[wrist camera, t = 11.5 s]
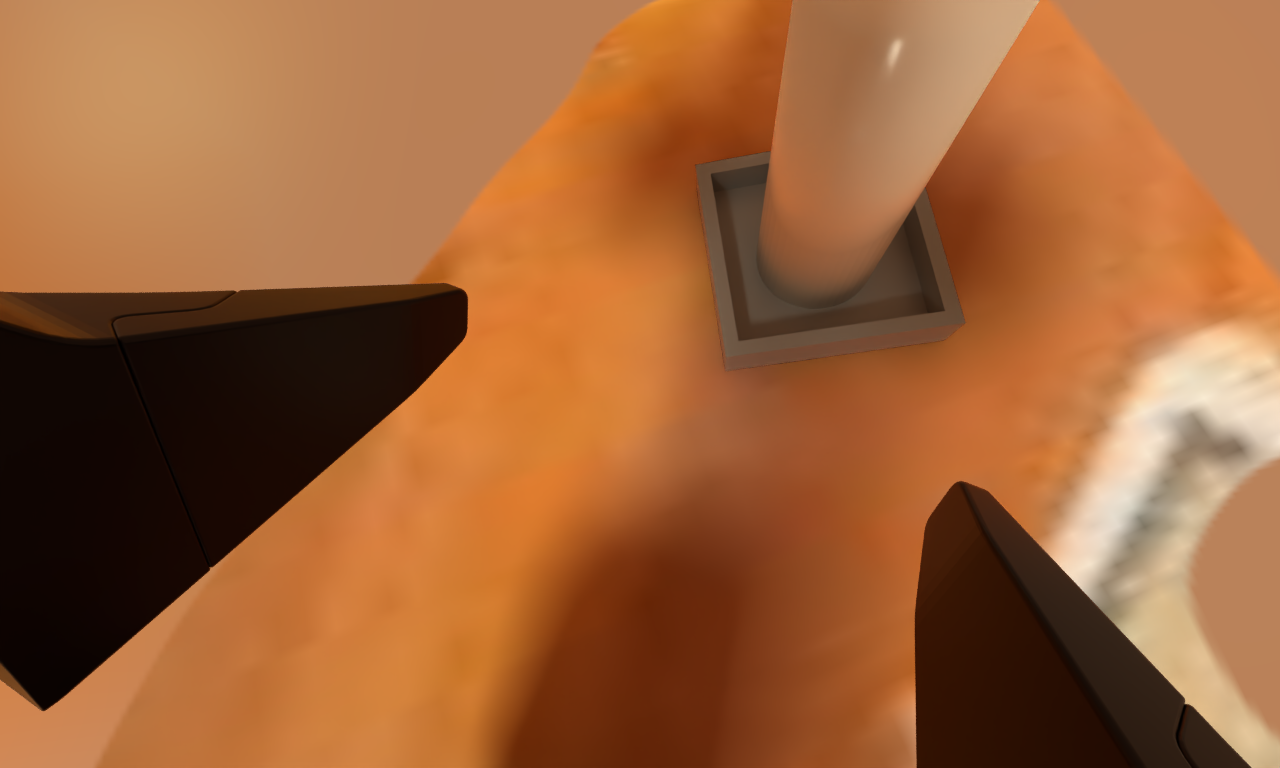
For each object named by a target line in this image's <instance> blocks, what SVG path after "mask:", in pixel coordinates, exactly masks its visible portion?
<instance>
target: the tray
mask: <svg viewBox="0 0 1280 768" xmlns="http://www.w3.org/2000/svg"><path fill="white" fill-rule="evenodd" d="M770 155H771V151H768V152H763V153H757V154H752V155H746V156H741V157H736V158H730V159H725V160H719V161H714V162H708V163H703V164H697V165H695V167H696V184H697V195H698V201H699V208H700V214H701V221H702V227H703V233H704V240H705V246H706V252H707V259H708V265H709V271H710V278H711V284H712V291H713V297H714V303H715V310H716V316H717V322H718V329H719V335H720V342H721V348H722V354H723V361H724V367H725V371H730V370H737V369H744V368H751V367H758V366H765V365H773V364H780V363H787V362H794V361H801V360H808V359H815V358H822V357H829V356H836V355H843V354H851V353H858V352H865V351H872V350H879V349H886V348H893V347H900V346H907V345H914V344H921V343H929V342H936V341H943V340H945V339H946V338H948V337H949V336H950V335H951V334H952V333H954V332H955V331H956V330H957V329H959V328H960V327H961V326H962V325H964V324H965V319H964V316H963V313H962V309H961V306H960V302H959V299H958V296H957V292H956V289H955V285H954V282H953V279H952V275H951V272H950V269H949V265H948V262H947V258H946V255H945V252H944V248H943V245H942V241H941V238H940V235H939V231H938V228H937V224H936V221H935V218H934V214H933V211H932V208H931V204H930V201H929V197H928V194H927V191H926V187H925V188H924V190H923V191H922V193H921V194H920V196H919V198H918V199H917V201H916V203H915V204H914V206H913V208H912V209H911V211H910V212H909V214H908V216H907V217H906V219H905V221H904V222H903V224H902V225H901V227H900V229H899V230H898V232H897V234H896V235H895V237H894V238H893V240H892V242H891V243H890V245H889V247H888V248H887V250H886V251H885V253H884V255H883V256H882V258H881V260H880V261H879V263H878V264H877V266H876V268H875V269H874V271H873V273H872V274H871V276H870V277H869V279H868V281H867V282H866V284H865V285H864V287H863V288H862V289H861V290H860V291H859V292H858V293H857V294H856V295H855V296H853V297H852V298H851V299H849V300H847V301H846V302H843V303H841V304H839V305H836V306H833V307H829V308H822V309H808V308H802V307H798V306H794V305H791V304H789V303H787V302H785V301H783V300H781V299H780V298H778V297H777V296H776V295H774V294H773V293H772V292H771V291H770V290H769V289H768V288H767V286H766V285H765V284H764V282H763V280H762V279H761V277H760V274H759V271H758V268H757V262H756V253H757V245H758V238H759V231H760V224H761V217H762V210H763V203H764V196H765V189H766V182H767V175H768V168H769V161H770Z"/></svg>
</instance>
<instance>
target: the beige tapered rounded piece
mask: <svg viewBox="0 0 1280 768" xmlns="http://www.w3.org/2000/svg"><path fill="white" fill-rule="evenodd" d="M1039 1H1040V0H793V1H792V8H791V15H790V22H789V29H788V36H787V43H786V50H785V57H784V64H783V71H782V78H781V85H780V92H779V99H778V106H777V113H776V120H775V127H774V134H773V141H772V148H771V155H770V161H769V168H768V175H767V182H766V189H765V196H764V203H763V210H762V217H761V224H760V231H759V238H758V245H757V253H756V262H757V268H758V271H759V274H760V277H761V279H762V280H763V282H764V284H765V285H766V286H767V288H768V289H769V290H770V291H771V292H772V293H773V294H774V295H776V296H777V297H778V298H780V299H781V300H783V301H785V302H787V303H789V304H791V305H794V306H798V307H802V308H808V309H822V308H829V307H833V306H836V305H839V304H841V303H843V302H846V301H847V300H849V299H851V298H852V297H853V296H855V295H856V294H857V293H858V292H859V291H860V290H861V289H862V288H863V287H864V285H865V284H866V282H867V281H868V279H869V277H870V276H871V274H872V273H873V271H874V269H875V268H876V266H877V264H878V263H879V261H880V260H881V258H882V256H883V255H884V253H885V251H886V250H887V248H888V247H889V245H890V243H891V242H892V240H893V238H894V237H895V235H896V234H897V232H898V230H899V229H900V227H901V225H902V224H903V222H904V221H905V219H906V217H907V216H908V214H909V212H910V211H911V209H912V208H913V206H914V204H915V203H916V201H917V199H918V198H919V196H920V194H921V193H922V191H923V190H924V188H925V186H926V185H927V183H928V181H929V180H930V178H931V177H932V175H933V173H934V172H935V170H936V168H937V167H938V165H939V164H940V162H941V160H942V159H943V157H944V155H945V154H946V152H947V151H948V149H949V147H950V146H951V144H952V142H953V141H954V139H955V138H956V136H957V134H958V133H959V131H960V129H961V128H962V126H963V124H964V123H965V121H966V120H967V118H968V116H969V115H970V113H971V111H972V110H973V108H974V107H975V105H976V103H977V102H978V100H979V98H980V97H981V95H982V94H983V92H984V90H985V89H986V87H987V85H988V84H989V82H990V81H991V79H992V77H993V76H994V74H995V72H996V71H997V69H998V68H999V66H1000V64H1001V63H1002V61H1003V59H1004V58H1005V56H1006V55H1007V53H1008V51H1009V50H1010V48H1011V46H1012V45H1013V43H1014V41H1015V40H1016V38H1017V37H1018V35H1019V33H1020V32H1021V30H1022V28H1023V27H1024V25H1025V24H1026V22H1027V20H1028V19H1029V17H1030V15H1031V14H1032V12H1033V11H1034V9H1035V7H1036V6H1037V4H1038V2H1039Z"/></svg>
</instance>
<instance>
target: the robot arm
mask: <svg viewBox="0 0 1280 768" xmlns="http://www.w3.org/2000/svg"><path fill="white" fill-rule="evenodd" d="M467 324H468V297H467V294H466V292H465V291H464V290H463V289H461V288H458V287H455V286H453V285H450V284H447V283H434V284H406V285H380V286H379V285H378V286H349V287H320V288H293V289H264V290H240V291H239V292H236V291H202V292H158V293H157V292H156V293H155V292H152V293H18V292H0V680H1V681H3V682H4V683H6V684H7V685H8V686H9V687H11V688H12V689H13V690H15V691H16V692H17V693H19V694H20V695H21V696H23V697H24V698H25V699H27V700H28V701H29V702H31V703H32V704H33V705H35V706H36V707H37V708H39V709H40V710H41V711H45V710H47V709H48V708H50V707H51V706H53V705H54V704H55V703H57V702H58V701H59V700H61V699H62V698H63V697H64V696H66V695H67V694H68V693H69V692H70V691H71V690H73V689H74V688H75V687H76V686H77V685H78V684H79V683H81V682H82V681H83V680H84V679H85V678H86V677H87V676H89V675H90V674H91V673H92V672H93V671H94V670H96V669H97V668H98V667H99V666H100V665H101V664H103V663H104V662H105V661H106V660H107V659H108V658H109V657H111V656H112V655H113V654H114V653H115V652H116V651H118V650H119V649H120V648H121V647H122V646H123V645H124V644H126V643H127V642H128V641H129V640H130V639H131V638H132V637H134V635H136V634H137V633H138V632H139V631H141V630H142V629H143V628H144V627H145V626H146V625H147V624H149V623H150V622H151V621H152V620H153V619H154V618H156V617H157V616H158V615H159V614H160V613H161V612H162V611H163V610H165V609H166V608H167V607H168V606H169V605H171V604H172V603H173V602H174V601H175V600H176V599H177V598H179V597H180V596H181V595H182V594H183V593H184V592H185V591H187V590H188V589H189V588H190V587H191V586H192V585H194V584H195V583H196V582H197V581H198V580H199V579H200V578H202V577H203V576H204V575H205V574H206V573H207V572H209V571H210V567H214V566H215V565H216V564H217V563H218V562H219V561H221V560H222V559H223V558H224V557H225V556H226V555H228V554H229V553H230V552H231V551H232V550H233V549H234V548H236V547H237V546H238V545H239V544H240V543H241V542H243V541H244V540H245V539H246V538H247V537H248V536H249V535H251V534H252V533H253V532H254V531H255V530H256V529H258V528H259V527H260V526H261V525H262V524H263V523H264V522H266V521H267V520H268V519H269V518H270V517H271V516H273V515H274V514H275V513H276V512H277V511H278V510H279V509H281V508H282V507H283V506H284V505H285V504H286V503H288V502H289V501H290V500H291V499H292V498H293V497H294V496H296V495H297V494H298V493H299V492H300V491H301V490H303V489H304V488H305V487H306V486H307V485H308V484H309V483H311V482H312V481H313V480H314V479H315V478H316V477H318V476H319V475H320V474H321V473H322V472H323V471H324V470H326V469H327V468H328V467H329V466H330V465H331V464H333V463H334V462H335V461H336V460H337V459H338V458H339V457H341V456H342V455H343V454H344V453H345V452H346V451H348V450H349V449H350V448H351V447H352V446H353V445H354V444H356V443H357V442H358V441H359V440H360V439H361V438H363V437H364V436H365V435H366V434H367V433H368V432H369V431H371V430H372V429H373V428H374V427H375V426H376V425H378V424H379V423H380V422H381V421H382V420H383V419H384V418H386V417H387V416H388V415H389V414H390V413H391V412H393V411H394V410H395V409H396V408H397V407H398V406H399V405H401V404H402V403H403V402H404V401H405V400H406V399H407V398H409V397H410V396H411V395H412V394H413V393H414V392H415V391H416V390H417V389H418V388H419V387H420V386H421V385H422V384H423V383H424V382H425V381H426V380H427V379H428V378H429V377H430V375H431V374H432V373H433V372H434V371H435V370H436V369H437V368H438V367H439V366H440V365H441V364H442V363H443V362H444V360H445V359H446V358H447V357H448V356H449V355H450V354H451V353H452V352H453V351H454V350H455V349H456V348H457V346H458V345H459V344H460V343H461V342H462V341H463V339H464V338H465V336H466V333H467ZM915 681H916V752H917V768H1251V767H1250V766H1249V765H1248V764H1247V763H1246V762H1245V761H1244V760H1243V759H1242V757H1241V756H1240V755H1239V754H1238V753H1237V752H1236V751H1235V750H1234V749H1233V748H1232V747H1231V746H1230V745H1229V744H1228V743H1227V742H1226V741H1225V740H1224V739H1223V738H1222V737H1221V736H1220V735H1219V734H1218V733H1217V732H1216V731H1215V730H1214V728H1213V727H1212V726H1211V725H1210V724H1209V723H1208V722H1207V721H1206V720H1205V719H1204V718H1203V717H1202V716H1201V715H1200V714H1199V713H1198V712H1197V710H1196V709H1195V708H1194V707H1193V706H1191V705H1189V704H1185V698H1184V697H1183V696H1182V695H1181V694H1180V693H1179V692H1178V691H1177V690H1176V689H1175V688H1174V686H1173V685H1172V684H1171V683H1170V682H1169V681H1168V680H1167V679H1166V678H1165V677H1164V676H1163V675H1162V674H1161V673H1160V672H1159V671H1158V670H1157V669H1156V668H1155V666H1154V665H1153V664H1152V663H1151V662H1150V661H1149V660H1148V659H1147V658H1146V657H1145V656H1144V655H1143V654H1142V653H1141V652H1140V651H1139V650H1138V649H1137V648H1136V646H1135V645H1134V644H1133V643H1132V642H1131V641H1130V640H1129V639H1128V638H1127V637H1126V636H1125V635H1124V634H1123V633H1122V632H1121V631H1120V630H1119V629H1118V628H1117V626H1116V625H1115V624H1114V623H1113V622H1112V621H1111V620H1110V619H1109V618H1108V617H1107V616H1106V615H1105V614H1104V613H1103V612H1102V611H1101V610H1100V609H1099V608H1098V606H1097V605H1096V604H1095V603H1094V602H1093V601H1092V600H1091V599H1090V598H1089V597H1088V596H1087V595H1086V594H1085V593H1084V592H1083V591H1082V590H1081V589H1080V588H1079V586H1078V585H1077V584H1076V583H1075V582H1074V581H1073V580H1072V579H1071V578H1070V577H1069V576H1068V575H1067V574H1066V573H1065V572H1064V571H1063V570H1062V569H1061V567H1060V566H1059V565H1058V564H1057V563H1056V562H1055V561H1054V560H1053V559H1052V558H1051V557H1050V556H1049V555H1048V554H1047V553H1046V552H1045V551H1044V550H1043V549H1042V547H1041V546H1040V545H1039V544H1038V543H1037V542H1036V541H1035V540H1034V539H1033V538H1032V537H1031V536H1030V535H1029V534H1028V533H1027V532H1026V531H1025V530H1024V529H1023V527H1022V526H1021V525H1020V524H1019V523H1018V522H1017V521H1016V520H1015V519H1014V518H1013V517H1012V516H1011V515H1010V514H1009V513H1008V512H1007V511H1006V510H1005V508H1004V507H1003V506H1002V505H1001V504H1000V503H999V502H998V501H997V500H996V499H995V498H994V497H993V496H992V495H991V494H990V493H989V492H988V491H986V490H985V489H982V488H979V487H977V486H974V485H972V484H969V483H966V482H963V481H959V482H956V483H955V484H954V485H953V486H952V487H951V488H950V489H949V491H948V492H947V493H946V495H945V496H944V497H943V499H942V500H941V502H940V503H939V504H938V506H937V507H936V509H935V510H934V511H933V513H932V514H931V516H930V517H929V519H928V521H927V524H926V527H925V532H924V540H923V548H922V557H921V565H920V573H919V581H918V589H917V598H916V608H915Z"/></svg>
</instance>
